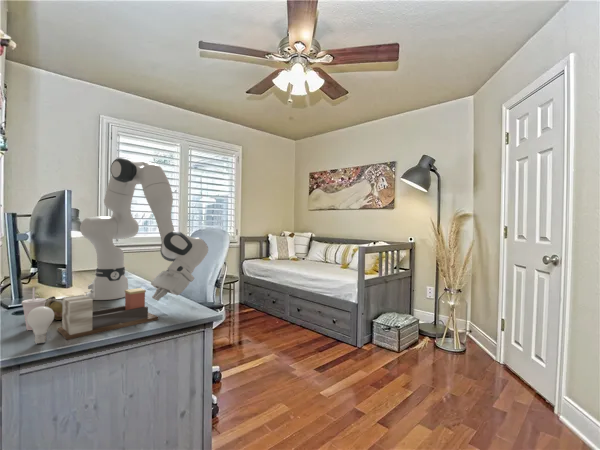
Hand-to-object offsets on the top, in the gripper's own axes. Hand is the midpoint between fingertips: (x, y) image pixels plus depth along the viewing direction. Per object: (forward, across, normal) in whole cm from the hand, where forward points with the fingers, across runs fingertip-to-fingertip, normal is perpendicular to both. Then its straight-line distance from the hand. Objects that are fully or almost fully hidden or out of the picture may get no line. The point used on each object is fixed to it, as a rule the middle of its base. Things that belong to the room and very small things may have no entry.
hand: (154, 299), depth 122 cm
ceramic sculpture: (+24, -23, -14) cm, 36 cm away
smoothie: (+29, -14, -20) cm, 38 cm away
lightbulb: (+30, +4, -20) cm, 36 cm away
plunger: (+9, 0, -2) cm, 9 cm away
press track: (+15, 0, -6) cm, 17 cm away
